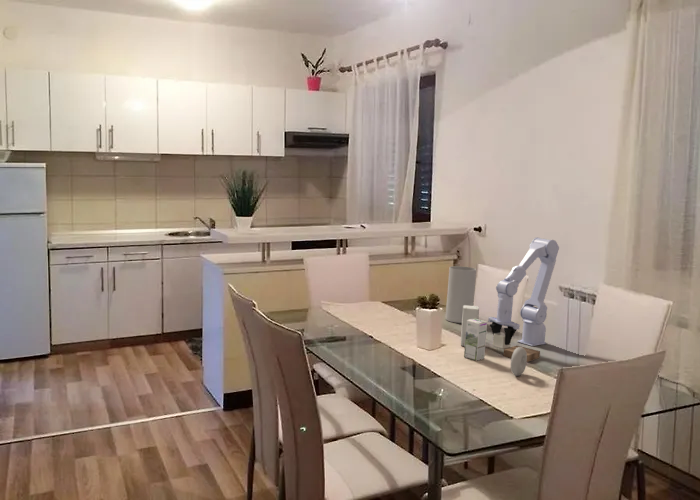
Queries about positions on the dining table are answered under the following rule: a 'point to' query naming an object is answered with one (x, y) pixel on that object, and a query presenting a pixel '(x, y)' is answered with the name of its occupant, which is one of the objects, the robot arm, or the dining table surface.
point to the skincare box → (468, 313)
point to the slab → (530, 352)
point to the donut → (518, 361)
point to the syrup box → (475, 339)
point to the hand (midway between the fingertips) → (501, 342)
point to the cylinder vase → (459, 291)
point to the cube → (500, 340)
